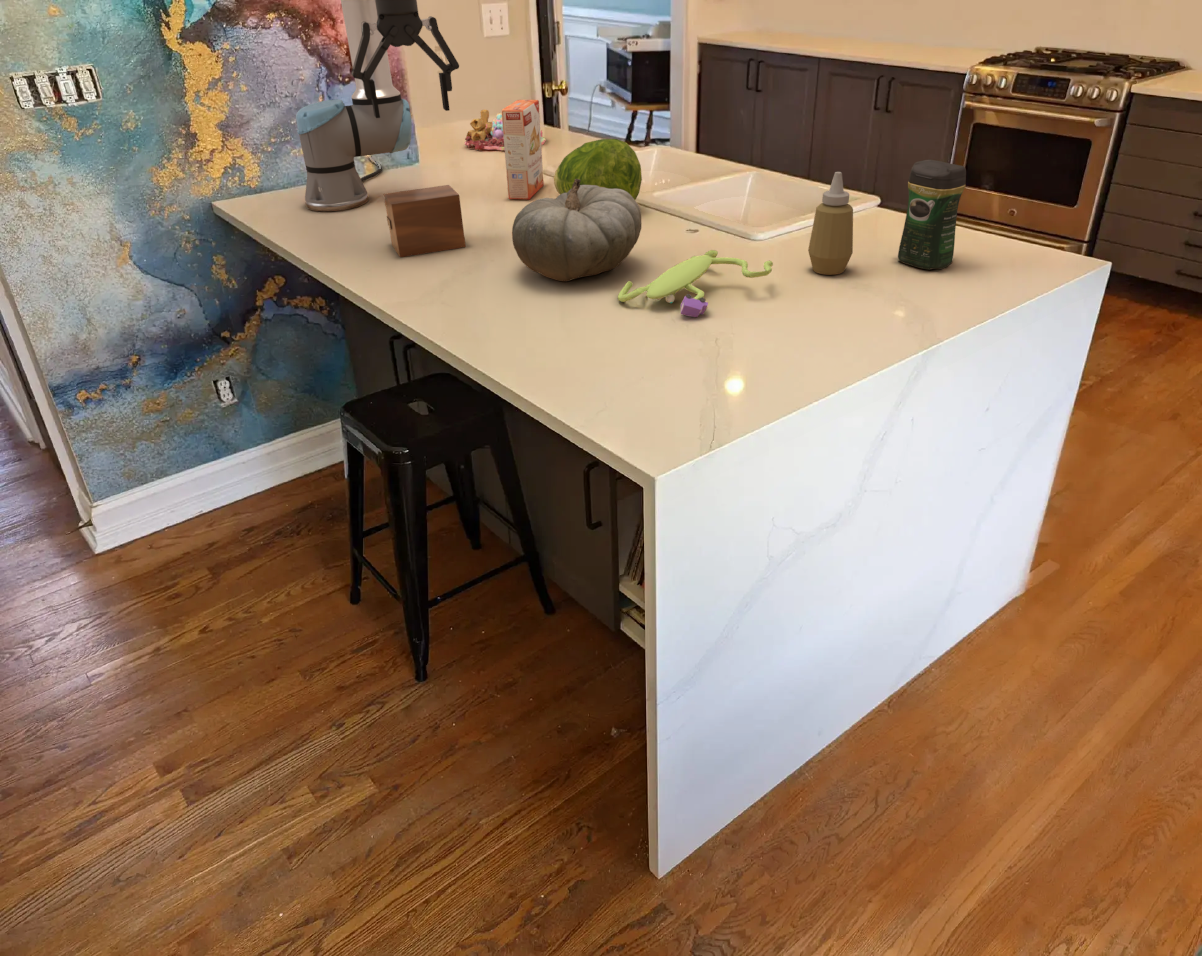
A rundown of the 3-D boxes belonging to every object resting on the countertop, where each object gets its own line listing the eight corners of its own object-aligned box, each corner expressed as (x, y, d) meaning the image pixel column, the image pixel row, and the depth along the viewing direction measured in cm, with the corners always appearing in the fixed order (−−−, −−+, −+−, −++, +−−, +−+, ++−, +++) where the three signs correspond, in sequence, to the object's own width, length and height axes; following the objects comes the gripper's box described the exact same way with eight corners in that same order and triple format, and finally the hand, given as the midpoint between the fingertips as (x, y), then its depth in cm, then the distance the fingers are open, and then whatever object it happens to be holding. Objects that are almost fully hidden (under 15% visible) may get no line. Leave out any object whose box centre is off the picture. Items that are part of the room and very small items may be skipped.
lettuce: (573, 227, 218) (599, 166, 218) (634, 230, 200) (663, 164, 201) (523, 191, 207) (550, 128, 207) (583, 191, 189) (613, 121, 190)
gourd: (674, 252, 171) (657, 163, 162) (585, 310, 159) (560, 217, 149) (587, 240, 188) (566, 158, 178) (500, 291, 176) (472, 207, 166)
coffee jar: (959, 265, 167) (977, 163, 157) (931, 274, 163) (948, 170, 153) (917, 252, 174) (932, 154, 164) (889, 261, 170) (903, 161, 160)
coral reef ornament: (455, 152, 265) (451, 119, 260) (477, 135, 285) (474, 104, 280) (536, 151, 261) (534, 118, 256) (553, 134, 281) (551, 103, 276)
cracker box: (531, 200, 217) (524, 109, 205) (507, 200, 218) (499, 109, 207) (545, 185, 228) (539, 98, 217) (523, 185, 229) (515, 98, 218)
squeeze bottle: (825, 281, 163) (835, 180, 153) (797, 268, 169) (805, 171, 159) (859, 272, 166) (871, 173, 156) (831, 260, 172) (840, 164, 162)
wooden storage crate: (391, 245, 191) (382, 193, 185) (456, 235, 195) (449, 184, 189) (399, 257, 184) (390, 204, 178) (466, 246, 188) (460, 194, 182)
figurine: (786, 289, 160) (788, 259, 157) (675, 329, 146) (675, 297, 143) (714, 264, 172) (715, 236, 169) (606, 299, 159) (605, 269, 156)
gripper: (326, -5, 156) (349, 123, 167) (465, -14, 162) (478, 109, 174) (322, -7, 162) (345, 116, 173) (457, -16, 168) (470, 103, 180)
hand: (412, 113), depth 174 cm, fingers open, 13 cm apart
